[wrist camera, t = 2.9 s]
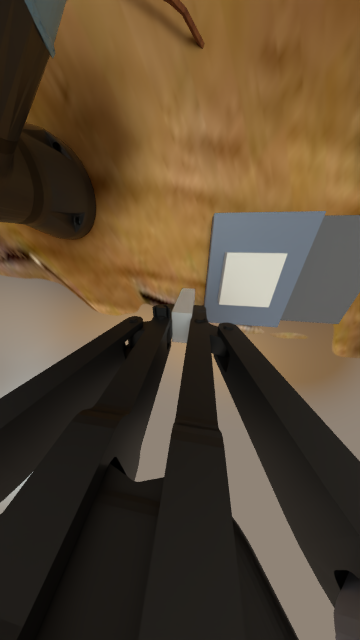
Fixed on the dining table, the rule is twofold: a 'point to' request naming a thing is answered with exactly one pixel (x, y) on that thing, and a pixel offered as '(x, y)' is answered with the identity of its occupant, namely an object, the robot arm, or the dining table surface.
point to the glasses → (187, 20)
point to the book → (267, 237)
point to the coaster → (249, 278)
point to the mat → (328, 273)
